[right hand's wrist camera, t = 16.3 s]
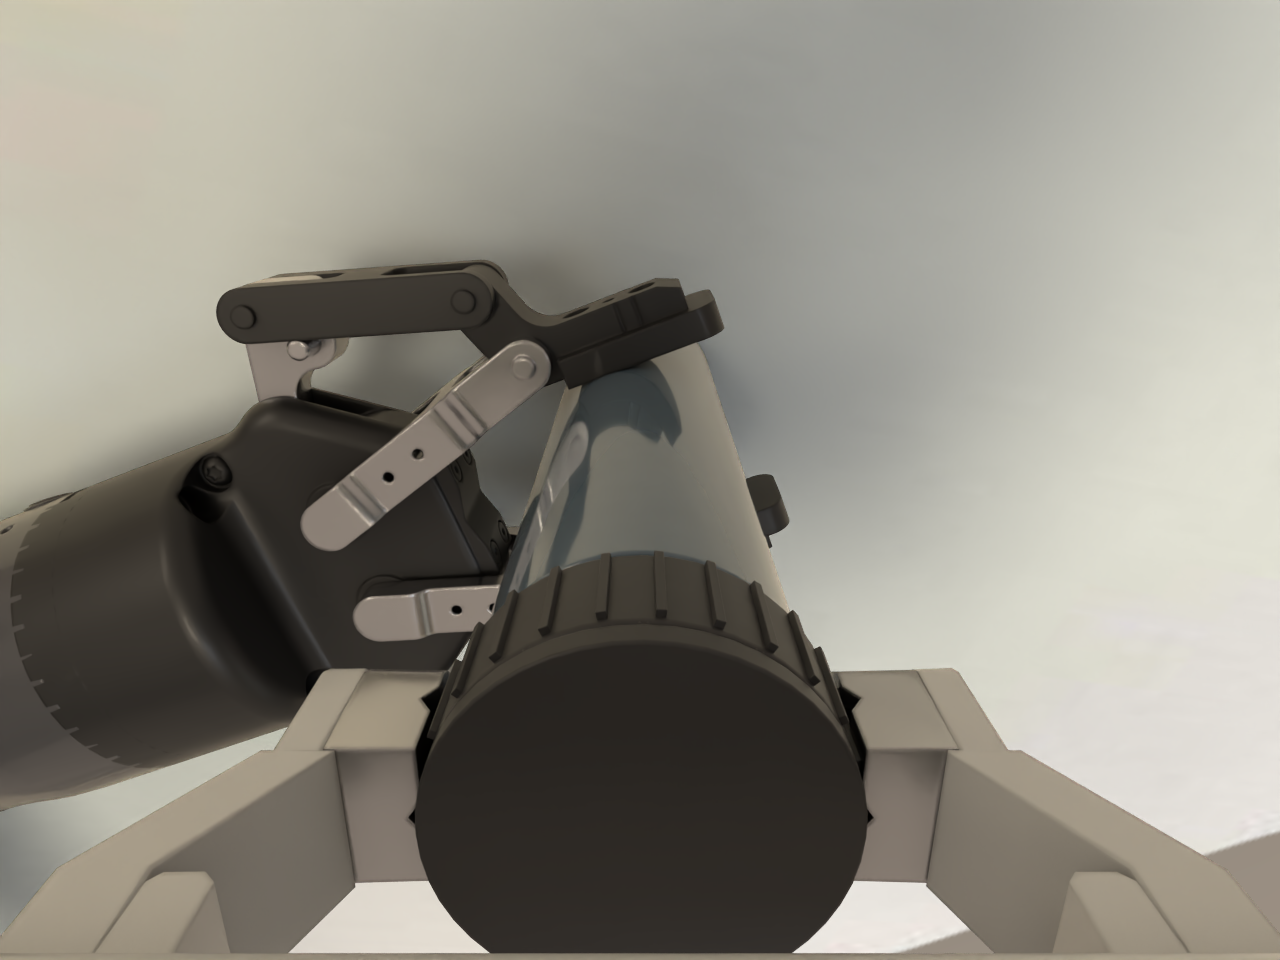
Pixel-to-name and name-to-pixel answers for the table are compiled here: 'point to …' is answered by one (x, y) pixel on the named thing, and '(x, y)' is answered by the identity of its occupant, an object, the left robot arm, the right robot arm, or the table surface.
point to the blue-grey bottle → (642, 479)
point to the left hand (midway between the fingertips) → (746, 407)
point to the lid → (641, 769)
